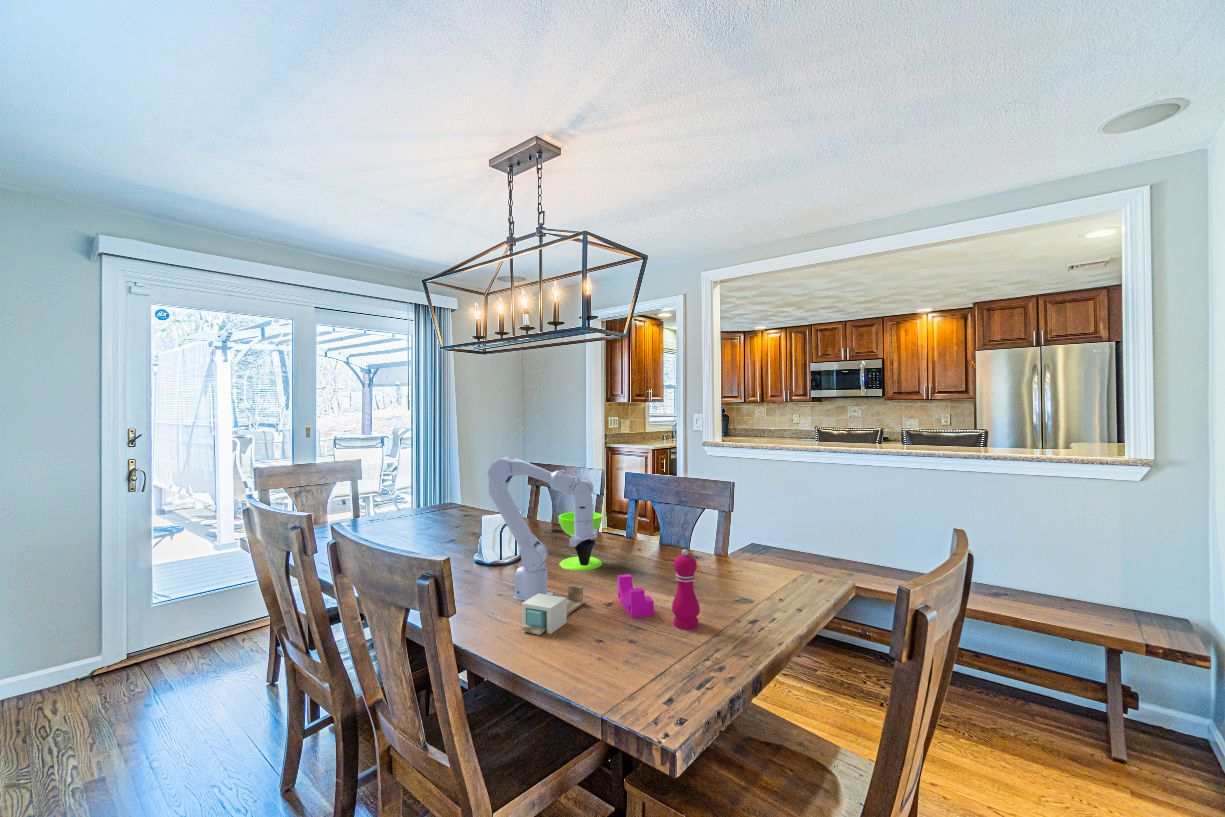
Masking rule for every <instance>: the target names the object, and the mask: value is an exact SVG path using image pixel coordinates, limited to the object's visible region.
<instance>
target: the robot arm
mask: <svg viewBox="0 0 1225 817" xmlns="http://www.w3.org/2000/svg"><path fill="white" fill-rule="evenodd" d="M566 472H567V471H566V470H565V469H561V470H559V469H557V470H555V471H549V470H547V469H544V468H542V467H540V466H537V465H535V464H533V463H530V462H528V461H526V460H523V459H520V458H514V457H512V456H509V455H506V456H503V457H501V458H497V459H495V460H493V461H492V462H491V464H490V466H489V468H488V471H487V476H488V493H489V496H490V497H491V500H492V501H493V503H494V505H495V506H496V509H497V511H498V512H499V514H500V515H501V517H502V519H503V521H504V522H505V524H506V526H507V527H508V530H510V533H511V535H512V536H513V539H514V540H515V542H516V543H517V547H518V554H519V555H520V558H521V565H522V566H519V567H518V568H517V569H516V571H515V574H514V596H513V598H512V599H514V600H519V601H523V602H524V601H526V600H528V599H530V598H531V597H533V596H535V595H536V594H538V593H540V594H546V595H553V596H554V593H553V592H550V591H549V592H548V565H547V563H546V562H545V561H546V559H547V558H548V555H549V553H548V548H547V546H546V545H545V544H544V543H542V542H541V541H540V540H539V538H538V537H537V536H536V535H535V534H533V533H532V531H531V529H530V527H529V525H528V524H527V522H526V520H525V519H524V517H523V515H522V514H521V512H520V510H519V508H518V506H517V505H516V503H515V501H514V500H513V497H512V496H511V494H510V493H509V491H508V488H509V486H510V485H509V484H510V483H511V480H512V479H513V477H516V476H522V475H525V476H527V477H531V478H534V479H537V480H539V481H541V482H545V483H548V484H549V487H550V489H553V490H556V491H558V492H561V493H564V494H565V495H566V494H567V495H569V496H571V495H572V497H574V505H573V508H574V509H573V512H574V535H573V537H572V536H571V538H570V539H569V540H568V541H569V542H568V543H569V544H568V546H569V547H573V548H574V549H575V551H576V554H577V556H578V557H579V561H580V565H584V566H587V565H588V564H589V559H590V557H591V554H592V551H593V548H594V546H595V545H596V540H595V539H596V538H598V531H599V530H598V529H597V530H596V529H593V512H594V504H593V501H594V500H593V493H594V484H593V483H592V481H591V480H589V479H587V478H586V477H585V478H581V476H577V475H576V476H575V475H571V474H570V473H566Z"/></svg>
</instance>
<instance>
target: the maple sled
mask: <svg viewBox="0 0 1225 817" xmlns="http://www.w3.org/2000/svg"><path fill="white" fill-rule="evenodd" d="M567 587H568V588H567V592H568V595H567V596H568V599H567V598H566V600H567V616H569V615H570V614H571V613H572V612H574V611H575V610H577V609H578V608H580V607H581V606H582V605H584V604H585V602H586V601H585V599H584V586H583V585H577V584H569V585H568V586H567ZM523 632H524V633H529V634H534V635H539V636H540V635H542V634H543V633H544V632H547V626H546V627H544V628H543V629H542V630H541V628H539V627H534V626H528V625H524V629H523Z"/></svg>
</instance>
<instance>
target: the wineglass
mask: <svg viewBox="0 0 1225 817" xmlns="http://www.w3.org/2000/svg"><path fill="white" fill-rule="evenodd" d="M602 519H603V514H602V513H599V512H595V511H593V529H596V530H598V529H599V527H600V526H601V524H602ZM558 522H559V525H560V527H561V529H562V531H564V532H565V534H567V535H568V536H570V537H571V538H572V537H573V535H574V511H571V512H565V513H562V514H559V515H558ZM602 565H603V562H602V560H600V559H599V558H596V557H593V556H590V559H589V564H588V565H587V566H584V565H580V561H579V557H578V555H577V556H571V557H567V558H565V559H563V560H561V562H559V567H560V566H561V567H560V568H562V569H564V570H568V569H569V570H568V571H590V570H595V569H597V568H600V567H601V566H602Z"/></svg>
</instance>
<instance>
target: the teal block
mask: <svg viewBox="0 0 1225 817" xmlns="http://www.w3.org/2000/svg"><path fill="white" fill-rule="evenodd" d="M527 625H528V626H534V627H539V628H541V630H542V629H543V628H544V627H546V626H547V611H542V610H536V609H529V610H527Z"/></svg>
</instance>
